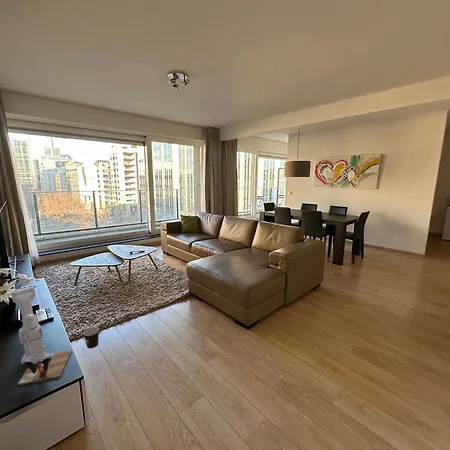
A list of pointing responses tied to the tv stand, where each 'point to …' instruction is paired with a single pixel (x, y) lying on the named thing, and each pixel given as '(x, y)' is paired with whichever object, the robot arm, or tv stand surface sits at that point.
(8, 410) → the tv stand surface
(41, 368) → the lever
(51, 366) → the light wood flat board
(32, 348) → the robot arm
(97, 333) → the coffee mug
